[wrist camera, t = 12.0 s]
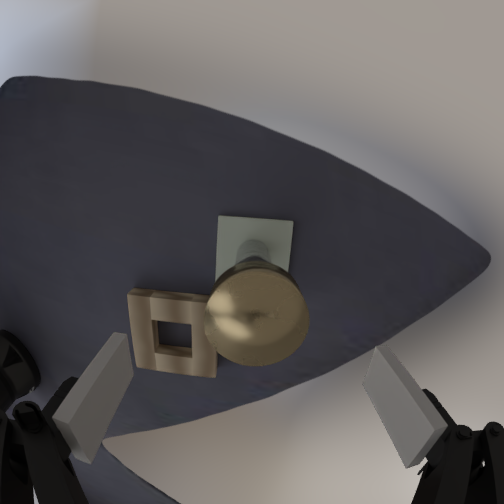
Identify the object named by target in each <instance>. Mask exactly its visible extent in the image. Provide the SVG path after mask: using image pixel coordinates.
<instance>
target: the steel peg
mask: <svg viewBox="0 0 504 504" xmlns="http://www.w3.org/2000/svg"><path fill="white" fill-rule="evenodd" d="M203 322H204V330H205V334H206V336H207V339H208V340H209V342H210V344H211V345H212V346H213V348H214V349H215V350H216V351H217V352H218V353H219V354H221V355H222V356H223V357H225V358H226V359H228V360H230V361H232V362H235V363H238V364H241V365H246V366H265V365H270V364H273V363H276V362H279V361H281V360H283V359H285V358H287V357H288V356H290V355H291V354H292V353H294V352H295V351H296V350H297V349H298V348H299V346H300V345H301V344H302V342H303V341H304V339H305V337H306V334H307V332H308V328H309V312H308V308H307V305H306V302H305V300H304V298H303V296H302V293H301V291H300V289H299V287H298V285H297V283H296V281H295V280H294V278H293V277H292V276H291V275H290V274H289V273H288V272H287V271H286V270H284V269H283V268H281V267H279V266H277V265H275V264H272V261H271V257H270V254H269V250H268V248H267V246H266V245H265V244H264V243H263V242H261V241H259V240H255V239H251V240H247V241H245V242H243V243H242V244H241V245H240V246H239V248H238V250H237V255H236V261H235V265H234V266H233V267H231V268H229V269H228V270H226V271H225V272H224V273H223V274H222V275H220V276H219V278H218V279H217V280H216V282H215V283H214V285H213V287H212V290H211V293H210V296H209V299H208V302H207V305H206V308H205V312H204V320H203Z"/></svg>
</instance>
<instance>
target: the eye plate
mask: <svg viewBox="0 0 504 504" xmlns="http://www.w3.org/2000/svg"><path fill="white" fill-rule="evenodd" d="M209 296H210V295H202V294H191V293H180V292H170V291H160V290H151V289H142V288H133V289H132V290H131V291H130V292H129V293H128V294H127V298H128V308H129V317H130V326H131V333H132V340H133V347H134V354H135V360H136V365H137V367H140V368H145V369H151V370H157V371H163V372H170V373H177V374H184V375H192V376H201V377H211V378H216V373H217V354H218V352H217V351H216V350H215V349H214V348H213V346H212V345H211V344H210V342H209V340H208V339H207V336H206V334H205V330H204V322H203V320H204V312H205V308H206V305H207V302H208V299H209ZM157 320H159V321H167V322H175V323H184V324H192V348H187V347H179V346H171V345H164V344H159V334H158V322H157Z"/></svg>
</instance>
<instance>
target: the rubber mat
mask: <svg viewBox="0 0 504 504" xmlns="http://www.w3.org/2000/svg"><path fill="white" fill-rule="evenodd" d="M292 232H293V221H288V220H276V219H263V218H250V217H236V216H221V215H219V216H218V234H217V255H216V279H215V282H216V280H217V279H218V278H219V276H220V275H222V274H223V273H224V272H225V271H226V270H228V269H229V268H231V267H233V266H234V265H235V261H236V255H237V250H238V248H239V246H240V245H241V244H242V243H243V242H245V241H247V240H251V239H255V240H259V241H261V242H263V243H264V244H265V245H266V246H267V248H268V250H269V254H270V257H271V261H272V264H275V265H277V266H279V267H281V268H283V269H284V270H286V271H287V272H288V268H289V259H290V250H291V241H292Z"/></svg>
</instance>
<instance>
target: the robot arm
mask: <svg viewBox="0 0 504 504" xmlns="http://www.w3.org/2000/svg"><path fill="white" fill-rule="evenodd" d="M133 376H134V373H133V368H132V362H131V357H130V351H129V345H128V338H127V334H123V333H117V332H114V333H113V334H112V335H111V337H110V338H109V339H108V340H107V342H106V343H105V344H104V346H103V347H102V348H101V350H100V351H99V352H98V354H97V355H96V356H95V358H94V359H93V360H92V362H91V363H90V364H89V366H88V367H87V368H86V370H85V371H84V372H83V374H82V375H81V376H80V378H75V377H70V378H69V379H67V380H65V381H64V382H63V383H62V384H61V386H60V387H59V388H58V390H57V391H56V392H55V394H54V396H52V398H51V399H50V400H49V402H48V403H47V405H46V406H45V407H44V409H43V410H42V411H41V410H40V408H39V406H38V405H37V404H36V403H35V402H32V401H23V402H20V403H19V404H17V405H16V406H15V407H14V409H13V413H12V415H13V417H14V418H15V420H11V419H9V418H8V417H7V415H6V413H5V412H6V411H7V410H8V408H9V407H10V406H11V405H12V404H13V402H14V401H15V400H16V399H18V398H20V397H22V396H25V395H27V394H28V393H31V392H33V391H34V390H35V389H36V388H37V387H38V385H39V384H40V375H39V371H38V369H37V366H36V364H35V362H34V360H33V359H32V357H31V355H30V354H29V352H28V351H27V350H26V348H25V347H24V346H23V345H22V343H21V342H20V341H19V340H18V339H17V338H16V337H14V336H13V335H12V334H10V333H9V332H7V331H4V330H0V504H34V494H33V487H34V490H35V493H36V496H37V499H38V502H39V504H89V503H88V501H87V498H86V496H85V494H84V492H83V490H82V488H81V485H80V483H79V481H78V478H77V476H76V473H75V471H74V468H73V466H72V463H71V461H70V459H69V455H70V453H71V452H72V453H73V455H74V456H75V458H76V459H78V460H81V461H84V462H86V463H89V464H92V462H93V459H94V457H95V455H96V453H97V450H98V448H99V446H100V444H101V442H102V439H103V437H104V435H105V433H106V431H107V429H108V427H109V424H110V422H111V420H112V418H113V416H114V414H115V412H116V410H117V408H118V406H119V404H120V402H121V400H122V397H123V395H124V393H125V391H126V389H127V387H128V385H129V383H130V381H131V379H132V378H133ZM363 386H364V388H365V390H366V392H367V394H368V395H369V397H370V399H371V401H372V403H373V405H374V407H375V409H376V411H377V413H378V414H379V416H380V418H381V420H382V422H383V424H384V426H385V428H386V430H387V432H388V434H389V436H390V438H391V439H392V441H393V444H394V446H395V448H396V450H397V451H398V453H399V456H400V458H401V459H402V461H403V464H404V466H405V468H409V467H412V466H415V465H418V464H420V462H421V461H422V460H423V459H424V457H426V458H427V460H428V462H427V463H426V464H425V465H424V466H423V468H422V469H421V470H420V471H419V472H418V475H419V474H420V473H421V472H422V471H423V473H422V476H421V479H420V482H419V485H418V488H417V490H416V493H415V495H414V498H413V501H412V503H411V504H504V428H503V426H501V424H499V423H497V422H489V423H488V424H487V425H486V426H485V428H484V429H483V430H480V431H472V430H471V429H470V428H469V427H467V426H465V425H457V424H456V423H455V422H454V421H453V419H452V418H451V417H450V415H449V414H448V413H447V411H446V410H445V409H444V407H442V405H441V403H440V402H438V400H437V398H436V397H435V396H434V394H433V393H431V392H429V391H428V390H427V389H421V388H420V387H419V385H418V384H417V383H416V381H415V380H414V379H413V378H412V376H411V375H410V374H409V372H408V371H407V370H406V368H405V367H404V366H403V365H402V364H401V362H400V361H399V360H398V358H397V357H396V356H395V354H394V353H393V352H392V351H391V349H390V348H389V347H388V346H387V345H384V346H375V350H374V353H373V356H372V359H371V362H370V365H369V367H368V370H367V373H366V376H365V379H364V382H363ZM483 461H484V462H485V466H484V467H483V464H482V462H483Z"/></svg>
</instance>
